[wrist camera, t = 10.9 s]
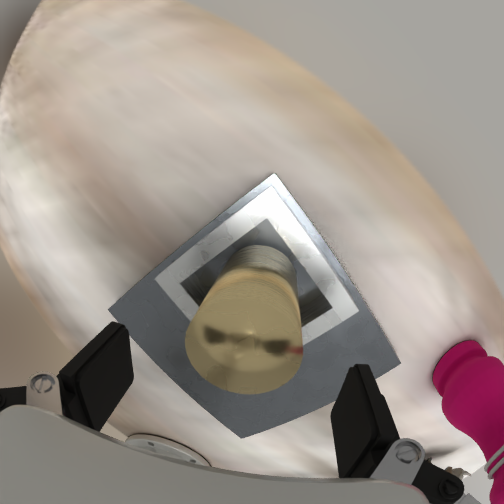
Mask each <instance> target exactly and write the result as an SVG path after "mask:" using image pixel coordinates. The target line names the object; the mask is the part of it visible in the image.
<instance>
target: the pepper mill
mask: <svg viewBox="0 0 504 504" xmlns="http://www.w3.org/2000/svg"><path fill="white" fill-rule="evenodd" d="M433 384H434V386H435V387H436V389H437V391H438V393H439V394H440V395H441V396H442V397H443V398H442V411H443V413H444V415H445V416H446V418H447V420H448V421H449V422H450V423H451V424H452V425H453V426H454V427H455V428H457V429H458V430H460V431H462V432H463V433H465V434H467V435H468V436H470V437H471V438H472V439H473V440H474V441H475V442H476V443H477V444H478V445H479V447H480V448H481V450H482V451H483V453H484V456H485V458H486V461H487V463H486V465H485V467H484V469H485V471H486V472H487V473H488V478H489V479H494V482H493V485H492V489H491V491H490V502H491V504H504V365H503V363H502V362H501V361H500V360H499V359H498V358H496V357H492V356H487V353H486V351H485V350H484V349H483V348H482V347H481V346H480V344H479V343H478V342H476V341H472V340H469V341H464V342H462V343H459V344H457V345H456V346H454V347H453V348H451V349H450V350H449V351H448V352H447V353H446V354H445V355H444V356H443V357H442V358H441V360H440V361H439V363H438V364H437V366H436V368H435V370H434V373H433Z"/></svg>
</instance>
